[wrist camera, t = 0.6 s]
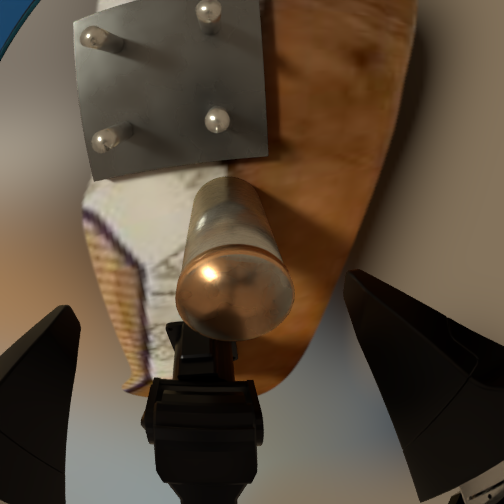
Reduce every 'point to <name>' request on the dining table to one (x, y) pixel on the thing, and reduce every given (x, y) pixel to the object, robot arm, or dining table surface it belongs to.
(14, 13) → the smartphone
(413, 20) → the dining table surface
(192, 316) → the canister
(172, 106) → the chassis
